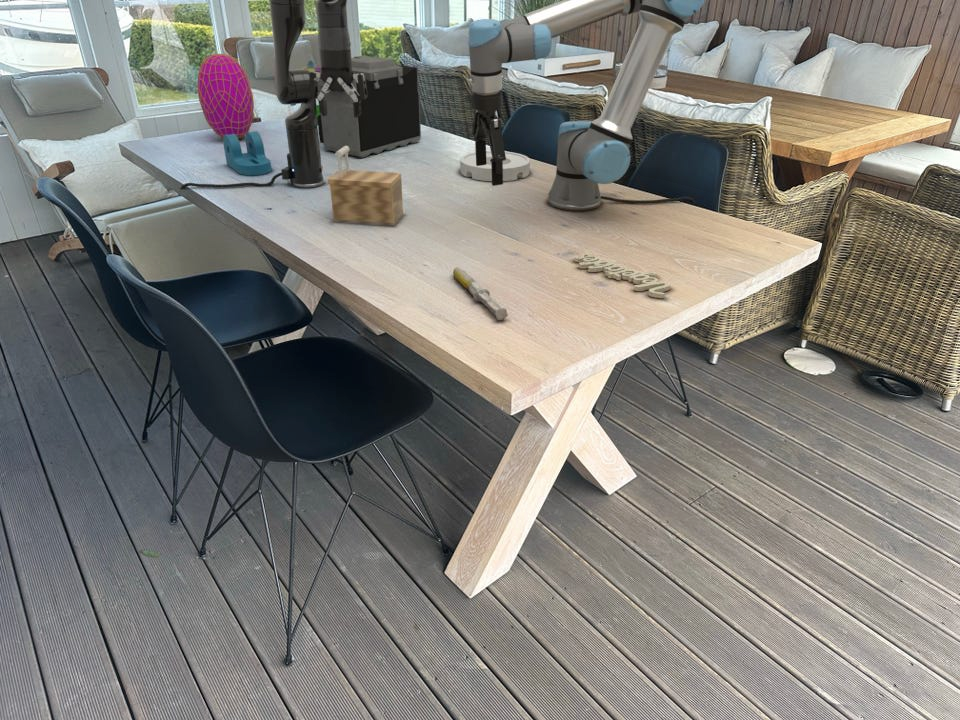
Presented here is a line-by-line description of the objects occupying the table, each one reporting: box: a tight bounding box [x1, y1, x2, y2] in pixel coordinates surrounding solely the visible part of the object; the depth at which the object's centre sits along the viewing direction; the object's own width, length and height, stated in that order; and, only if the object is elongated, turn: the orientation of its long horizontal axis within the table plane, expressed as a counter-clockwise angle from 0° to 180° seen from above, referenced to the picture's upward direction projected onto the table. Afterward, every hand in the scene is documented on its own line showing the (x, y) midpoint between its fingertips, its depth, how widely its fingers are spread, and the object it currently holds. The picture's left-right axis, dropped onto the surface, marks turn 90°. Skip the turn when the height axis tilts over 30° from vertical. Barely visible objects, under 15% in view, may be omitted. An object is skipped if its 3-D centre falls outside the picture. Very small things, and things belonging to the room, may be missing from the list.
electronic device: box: [316, 55, 422, 159], centre depth 250 cm, size 37×22×30 cm, turn 144°
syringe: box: [452, 266, 509, 321], centre depth 145 cm, size 25×4×3 cm, turn 21°
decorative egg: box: [197, 53, 255, 140], centre depth 258 cm, size 19×19×30 cm
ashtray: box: [459, 150, 531, 182], centre depth 228 cm, size 23×23×4 cm
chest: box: [329, 178, 404, 227], centre depth 185 cm, size 17×10×10 cm, turn 80°
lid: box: [326, 146, 402, 188], centre depth 180 cm, size 17×10×8 cm, turn 80°
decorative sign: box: [574, 252, 671, 299], centre depth 155 cm, size 26×1×10 cm
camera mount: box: [222, 131, 272, 176], centre depth 226 cm, size 18×10×10 cm, turn 35°
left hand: (340, 116), depth 175 cm, fingers open, 8 cm apart
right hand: (489, 174), depth 179 cm, fingers open, 13 cm apart
